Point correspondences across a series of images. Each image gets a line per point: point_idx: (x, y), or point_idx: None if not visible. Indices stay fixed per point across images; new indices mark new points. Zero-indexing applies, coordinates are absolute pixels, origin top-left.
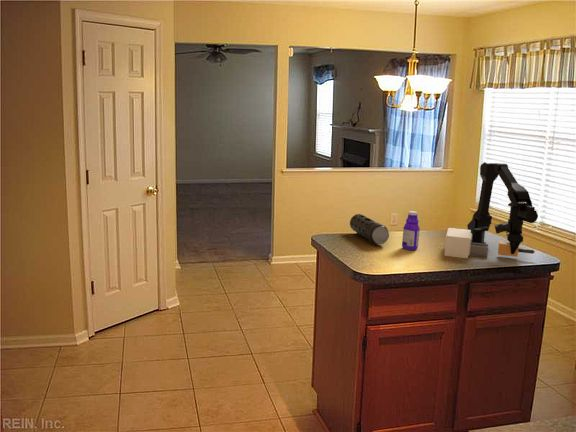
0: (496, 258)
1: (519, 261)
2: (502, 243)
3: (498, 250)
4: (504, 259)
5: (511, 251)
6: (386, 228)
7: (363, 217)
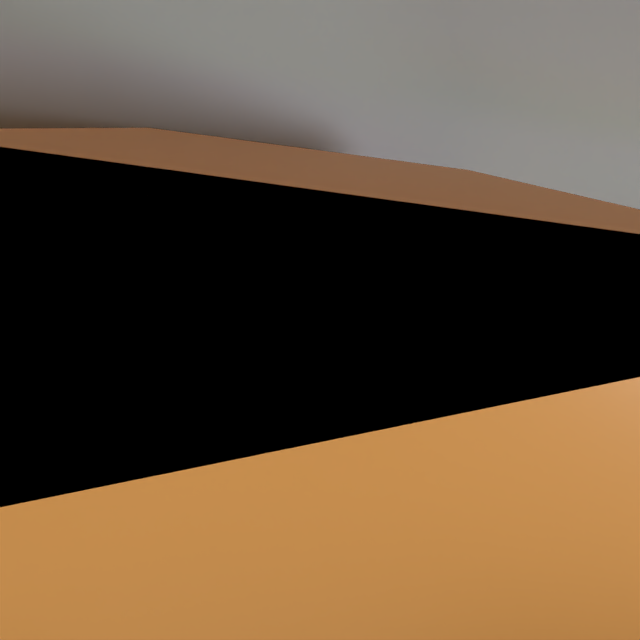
0: (94, 77)
1: None
2: (58, 514)
3: (169, 136)
4: None
5: None
6: None
7: None
